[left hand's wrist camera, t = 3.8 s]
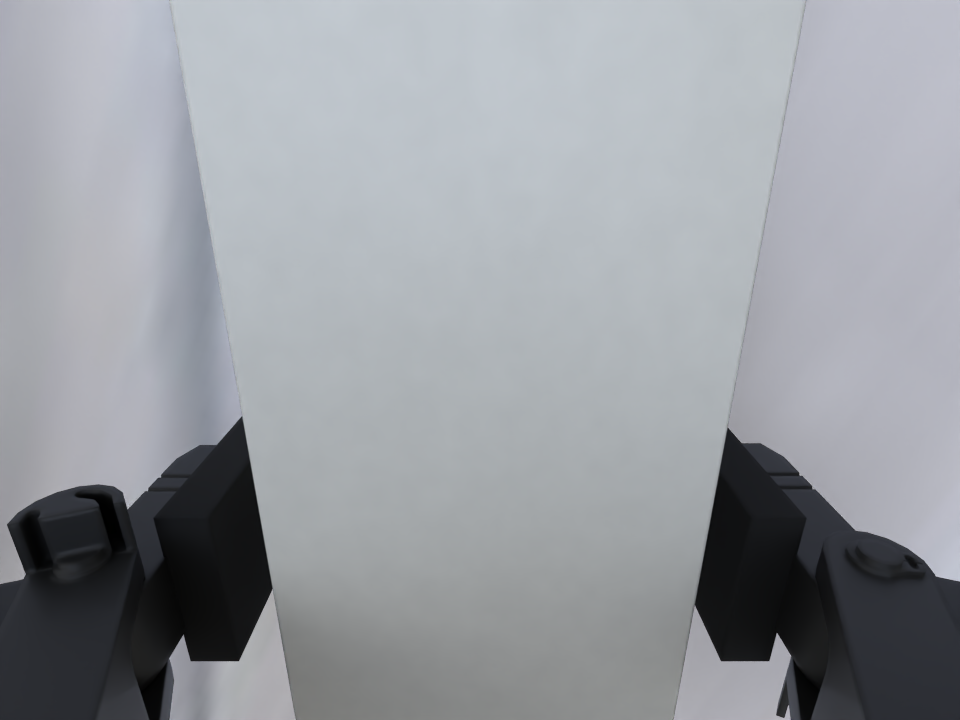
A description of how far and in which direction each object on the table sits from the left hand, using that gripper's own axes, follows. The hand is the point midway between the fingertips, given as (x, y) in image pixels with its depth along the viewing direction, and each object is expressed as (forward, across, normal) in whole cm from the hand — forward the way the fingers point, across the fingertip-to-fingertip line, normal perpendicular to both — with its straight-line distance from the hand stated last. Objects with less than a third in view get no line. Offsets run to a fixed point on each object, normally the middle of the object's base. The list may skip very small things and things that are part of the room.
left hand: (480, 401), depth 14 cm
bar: (+1, 0, -24) cm, 24 cm away
